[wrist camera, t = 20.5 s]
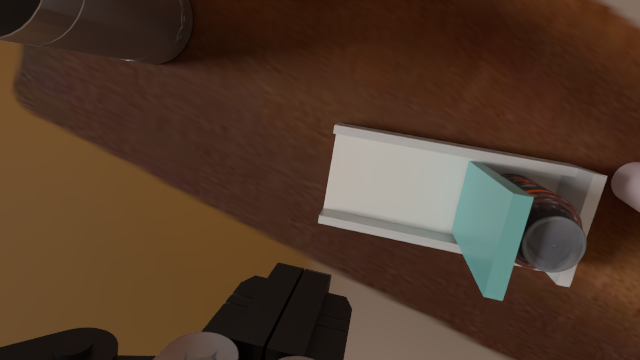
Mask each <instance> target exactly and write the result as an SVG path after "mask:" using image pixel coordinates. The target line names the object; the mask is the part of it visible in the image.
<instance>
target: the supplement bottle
mask: <svg viewBox="0 0 640 360" xmlns="http://www.w3.org/2000/svg"><path fill="white" fill-rule="evenodd" d="M499 175H501V176H502V177H504V178H505V179H507V180H508V181H510V182H511V183H513V184H514V185H516V186H517V187H519V188H520V189H522V190H523V191H525V192H526V193H528V194H529V195H531V196H533V197H534V199H533V202H532V206H531V209H530V212H529V216H528V219H527V222H526V226H525V229H524V232H523V235H522V239H521V242H520V245H519V249H518V252H517V255H516V259H515V262H514V263H516V264H518V265H520V266H522V267H525V268H530V269H538V270H541V271H544V272H549V273H554V272H562V271H565V270H568V269H570V268H572V267H573V266H575V265H576V264H577V263H578V262H579V261H580V260H581V259H582V257H583V255H584V254H585V251H586V246H587V240H586V236H585V233H584V231H583V226H582V225H583V224H582V221H581V218H580V216H579V213H578V212H577V210H576V209H575V207H574V206H573V205H572V204H571V203H570V202H568V201H567V200H566V199H564V198H563V197H561V196H559V195H558V194H556V193H554V192H552V191H550V190H549V189H546V188H545V187H543V186H541V185H539V184H537V183H536V182H534V181H532V180H530V179H528V178H527V177H524V176H521V175H517V174H510V173H509V174H499Z"/></svg>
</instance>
